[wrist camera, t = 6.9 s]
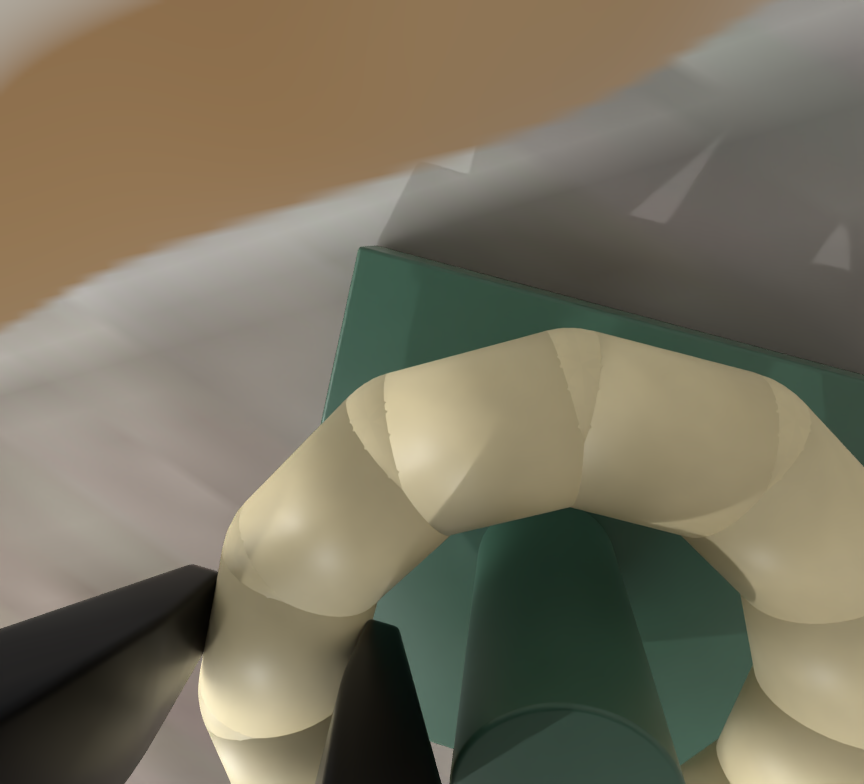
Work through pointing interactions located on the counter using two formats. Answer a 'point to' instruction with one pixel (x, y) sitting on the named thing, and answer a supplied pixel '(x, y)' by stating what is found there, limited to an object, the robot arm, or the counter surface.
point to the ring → (540, 493)
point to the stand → (561, 561)
